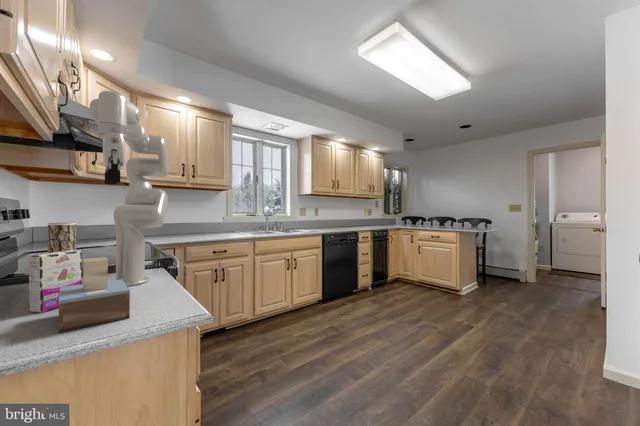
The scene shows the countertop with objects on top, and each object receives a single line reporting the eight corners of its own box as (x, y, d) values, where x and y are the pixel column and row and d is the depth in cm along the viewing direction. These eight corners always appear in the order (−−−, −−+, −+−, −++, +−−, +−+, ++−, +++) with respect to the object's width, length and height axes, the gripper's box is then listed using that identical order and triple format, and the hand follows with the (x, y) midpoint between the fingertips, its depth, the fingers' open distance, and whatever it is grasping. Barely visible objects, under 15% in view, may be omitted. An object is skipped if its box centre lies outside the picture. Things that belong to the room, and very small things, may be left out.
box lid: (60, 290, 76) (60, 285, 76) (122, 281, 85) (122, 277, 85) (58, 304, 65) (58, 298, 65) (129, 292, 74) (129, 287, 74)
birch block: (82, 288, 75) (83, 259, 75) (105, 284, 79) (106, 257, 79) (83, 292, 72) (83, 261, 72) (107, 288, 75) (107, 259, 75)
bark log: (54, 303, 85) (55, 223, 84) (42, 300, 87) (42, 223, 87) (80, 297, 91) (81, 222, 91) (68, 294, 93) (68, 222, 93)
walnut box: (60, 314, 76) (60, 290, 76) (121, 303, 85) (122, 281, 85) (58, 333, 65) (58, 304, 65) (129, 318, 74) (129, 292, 74)
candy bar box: (70, 299, 88) (70, 249, 88) (82, 301, 87) (83, 250, 87) (27, 312, 77) (27, 254, 77) (40, 313, 76) (41, 255, 76)
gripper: (130, 128, 86) (130, 182, 86) (123, 138, 98) (122, 185, 98) (100, 122, 81) (99, 180, 81) (96, 134, 93) (95, 184, 93)
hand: (112, 183), depth 90 cm, fingers open, 9 cm apart
